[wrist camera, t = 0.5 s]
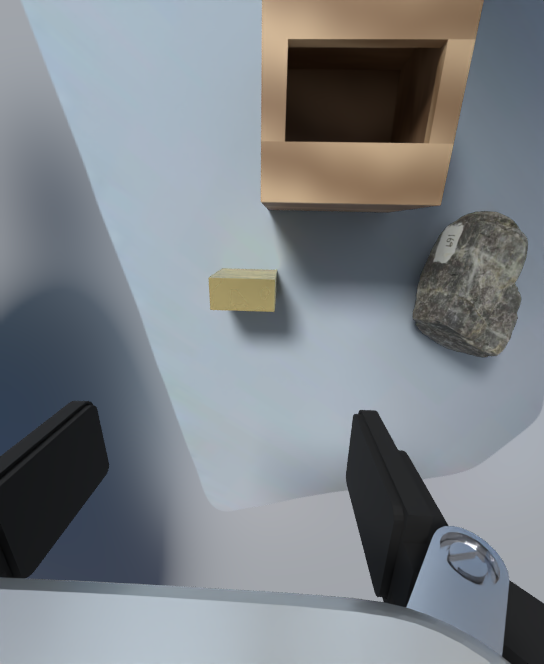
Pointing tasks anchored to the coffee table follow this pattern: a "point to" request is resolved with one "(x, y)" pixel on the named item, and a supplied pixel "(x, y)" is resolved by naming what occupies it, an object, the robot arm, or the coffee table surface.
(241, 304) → the brushed brass block
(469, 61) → the box
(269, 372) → the coffee table surface
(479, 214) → the stone
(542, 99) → the coffee table surface
